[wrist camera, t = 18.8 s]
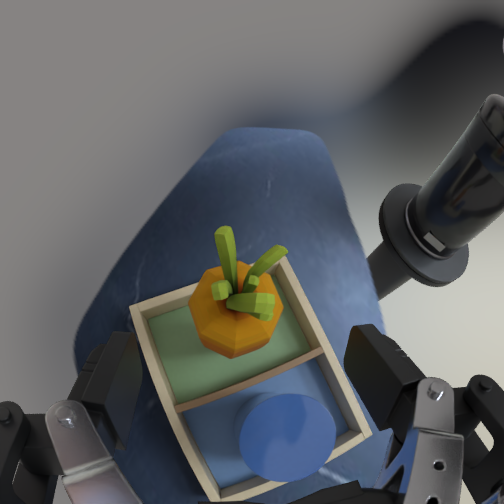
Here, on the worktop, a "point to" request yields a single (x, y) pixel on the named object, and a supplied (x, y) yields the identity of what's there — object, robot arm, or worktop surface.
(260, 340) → the carrot
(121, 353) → the robot arm
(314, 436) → the blue cylinder
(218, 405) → the sorting tray
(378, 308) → the worktop surface
